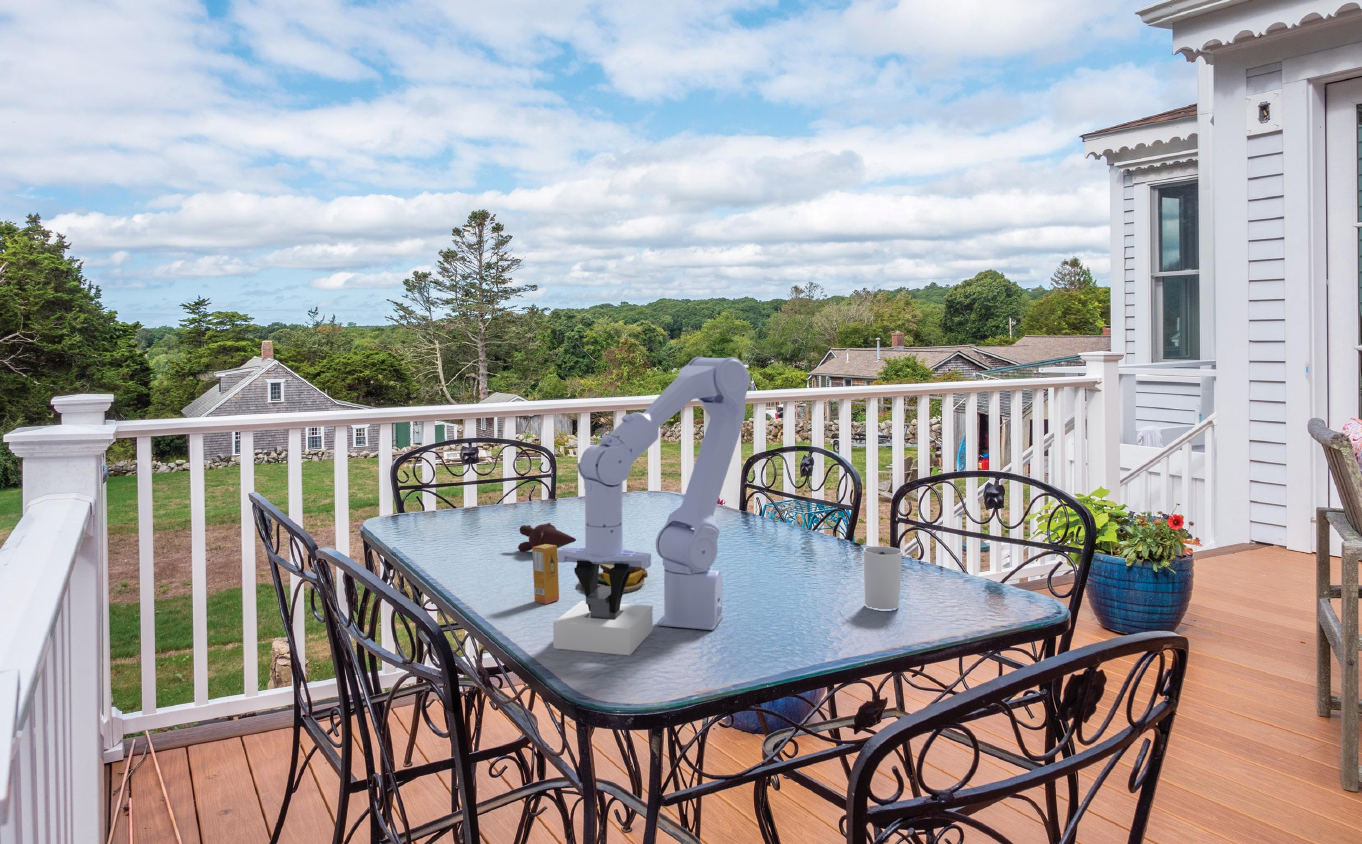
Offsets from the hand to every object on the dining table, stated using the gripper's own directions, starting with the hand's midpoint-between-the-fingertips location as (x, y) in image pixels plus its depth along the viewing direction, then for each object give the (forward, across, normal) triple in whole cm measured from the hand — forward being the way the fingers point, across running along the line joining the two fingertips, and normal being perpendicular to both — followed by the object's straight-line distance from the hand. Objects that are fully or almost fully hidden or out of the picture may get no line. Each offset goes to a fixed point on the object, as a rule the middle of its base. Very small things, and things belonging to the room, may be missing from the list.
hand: (604, 610), depth 139 cm
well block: (+5, 0, 0) cm, 5 cm away
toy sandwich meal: (+5, -9, +31) cm, 32 cm away
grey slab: (+3, 0, -1) cm, 3 cm away
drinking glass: (+5, +41, +29) cm, 50 cm away
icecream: (+5, -31, +51) cm, 60 cm away
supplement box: (+5, -17, +17) cm, 25 cm away
